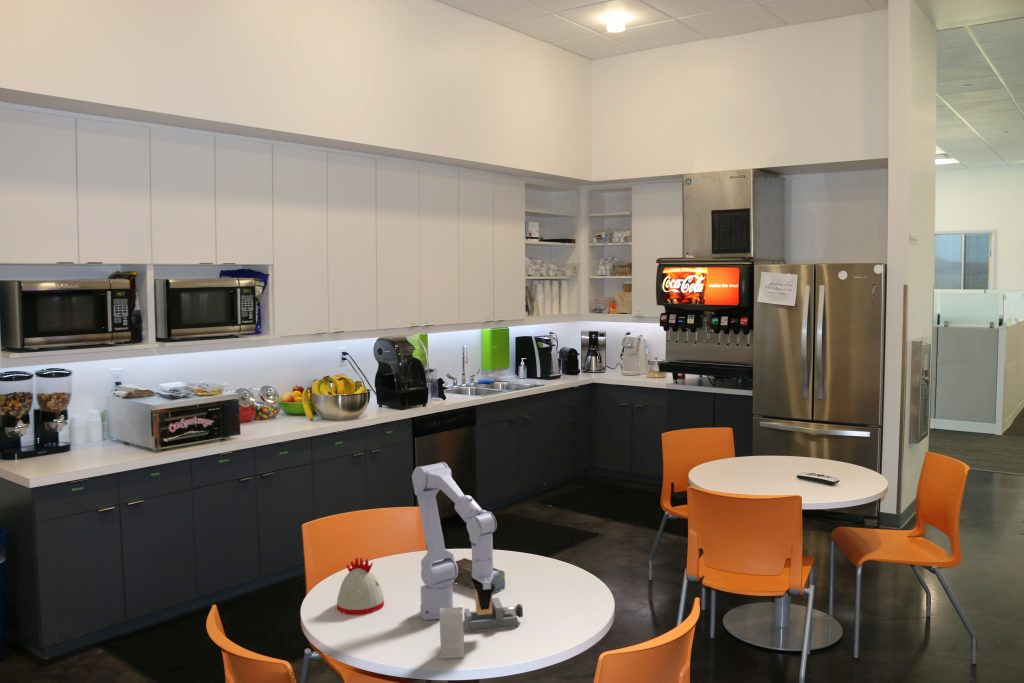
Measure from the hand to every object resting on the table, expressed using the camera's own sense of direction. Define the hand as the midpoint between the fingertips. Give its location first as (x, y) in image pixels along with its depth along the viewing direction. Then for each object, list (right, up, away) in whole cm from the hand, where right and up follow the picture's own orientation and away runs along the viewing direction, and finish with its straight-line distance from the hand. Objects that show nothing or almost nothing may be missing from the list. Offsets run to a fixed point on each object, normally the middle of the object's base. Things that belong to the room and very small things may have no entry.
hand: (483, 605), depth 231 cm
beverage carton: (-4, -6, +39) cm, 39 cm away
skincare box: (-8, -10, -11) cm, 17 cm away
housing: (+2, -8, +8) cm, 11 cm away
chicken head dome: (-38, -8, +24) cm, 45 cm away
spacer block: (0, -2, 0) cm, 2 cm away
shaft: (+7, -6, +9) cm, 13 cm away
